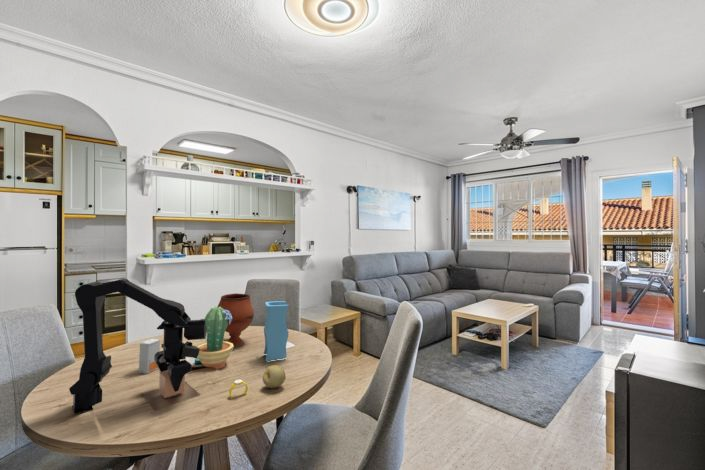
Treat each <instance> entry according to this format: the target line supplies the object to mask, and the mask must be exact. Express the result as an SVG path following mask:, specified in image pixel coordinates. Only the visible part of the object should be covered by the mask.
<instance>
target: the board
mask: <svg viewBox="0 0 705 470" xmlns="http://www.w3.org/2000/svg"><path fill="white" fill-rule="evenodd" d="M141 395H142V397H143V398H144V399H145V400H146V402H147V404H149V406H150V407H151V409H153V411H157V410H160V409H164V408H167V407H170V406H172V405H176V404H179V403H181V402H185V401H186V400H187V401H188V400H190V399H194V398H196V397H200V396H201V394H200V393H199V391H197V390H196V389H195V388H194V387H192V386H191V385H190V384H189V383H188V382H187V381H185V385H184V392H182V393H179V394H178V395H176V396H172V397H169V398H168V397H166V398H164V397H163V395H162V394H161V393H160V392H159V389H157V390H153V391H150V392H146V393H143V394H141Z"/></svg>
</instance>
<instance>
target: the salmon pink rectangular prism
mask: <svg viewBox="0 0 705 470" xmlns="http://www.w3.org/2000/svg"><path fill="white" fill-rule="evenodd" d="M185 378H186V374H185V375H184V377H183V379H182V382H181V384H180V387H179V390H178V391H176V392H175V391H174V389H173V386H172V384H171V381H170V379H169V376H168V370H167V371H163V372H160V371H159V383H158V384H159V385H158V386H159V388H158V390H159V392H160V393H161V394H162V395H163V397H164V398H166V397H170V396H173V395H176V394H179V393H182V392H184V385H185V382H186V381H185Z"/></svg>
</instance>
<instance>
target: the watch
mask: <svg viewBox="0 0 705 470" xmlns="http://www.w3.org/2000/svg"><path fill="white" fill-rule="evenodd" d="M240 385H244V386H245V391H244V392H243V394H244V395H247V393H248V391H249V389H248V388H249V387H248V385H247V383H246V382H245V381H244V380H242V379H236V380H234V382H233V383H232V384H231V385H230V386H229V390H228V395H229V397H230V398H231V399H233V395H232V390H233V388H234V387H235V386H240Z"/></svg>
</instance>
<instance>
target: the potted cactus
mask: <svg viewBox="0 0 705 470" xmlns="http://www.w3.org/2000/svg"><path fill="white" fill-rule="evenodd" d="M217 307H218V306H214V307H211V308H210V309H209V311H207V313H206V315H205V317H204V319H206V327H207V333H206V342H205V343H202V344H200V345H198V346H197V347H198V348H199V349H200V351H199V354H198V357H197V358H198V359H199V362H200V363H201V364H202V366H203V367H205V368H214V369H216V370H218V369H221V368H224V367H225V366H226V362H227V360H228V359H229V358H230V355H231V352H232V351H233V350H234V346H233V343H230V342H227V341H224V339H225V334H226V331H225V330H226V328H227V324H228V319H229V324H230V323H231V321H232V315H231V313H230V312H229V311H228V310H223V308H221V307H218V308H217Z"/></svg>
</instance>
